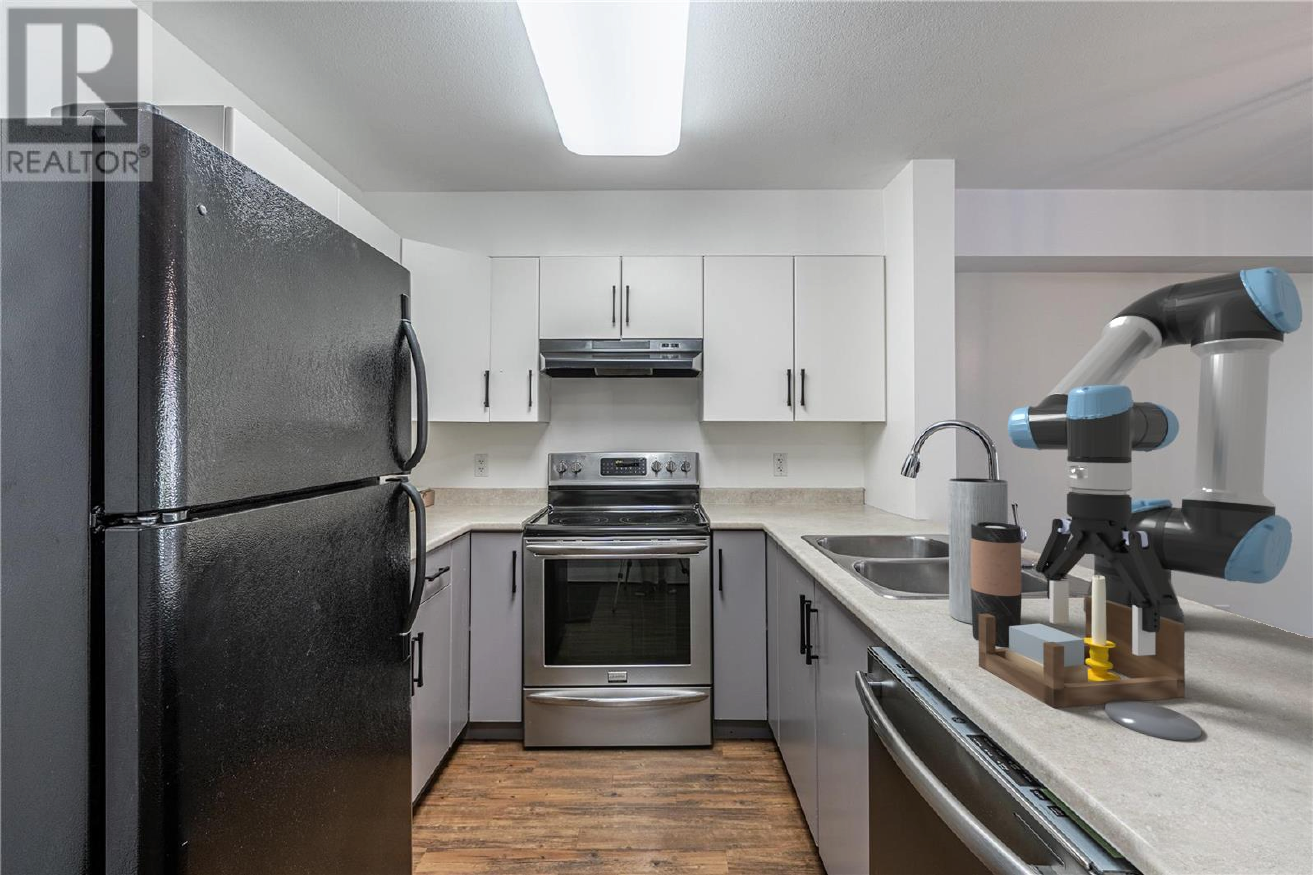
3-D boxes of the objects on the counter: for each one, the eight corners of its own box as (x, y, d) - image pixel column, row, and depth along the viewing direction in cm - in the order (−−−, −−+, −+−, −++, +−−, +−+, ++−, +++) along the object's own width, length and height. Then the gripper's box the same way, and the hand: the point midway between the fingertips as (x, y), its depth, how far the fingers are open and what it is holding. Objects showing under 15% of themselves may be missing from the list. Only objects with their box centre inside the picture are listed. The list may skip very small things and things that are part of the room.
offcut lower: (1041, 672, 87) (1041, 645, 87) (1087, 695, 79) (1087, 666, 79) (1005, 674, 86) (1005, 648, 86) (1049, 698, 78) (1048, 669, 78)
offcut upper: (1039, 646, 87) (1039, 623, 87) (1084, 664, 80) (1084, 639, 80) (1009, 649, 85) (1009, 626, 85) (1051, 668, 79) (1051, 642, 79)
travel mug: (1029, 649, 96) (1029, 529, 96) (979, 645, 97) (979, 528, 97) (1011, 633, 103) (1010, 522, 103) (965, 630, 105) (964, 521, 105)
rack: (1092, 658, 92) (1092, 595, 92) (1184, 697, 78) (1184, 623, 78) (978, 665, 89) (978, 601, 89) (1053, 707, 75) (1053, 631, 75)
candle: (1120, 690, 80) (1120, 578, 80) (1074, 679, 84) (1074, 572, 84) (1123, 678, 84) (1123, 572, 84) (1079, 668, 88) (1079, 567, 88)
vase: (1020, 622, 109) (1019, 480, 109) (983, 629, 105) (982, 482, 105) (973, 608, 118) (972, 477, 118) (937, 614, 115) (937, 479, 115)
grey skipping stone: (1146, 702, 76) (1146, 697, 76) (1222, 737, 68) (1222, 732, 68) (1087, 707, 75) (1087, 702, 75) (1156, 743, 66) (1156, 738, 66)
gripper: (1010, 485, 96) (1010, 612, 96) (1162, 500, 71) (1162, 672, 71) (1051, 484, 97) (1050, 610, 97) (1214, 500, 72) (1214, 669, 72)
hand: (1098, 637), depth 84 cm, fingers open, 13 cm apart
